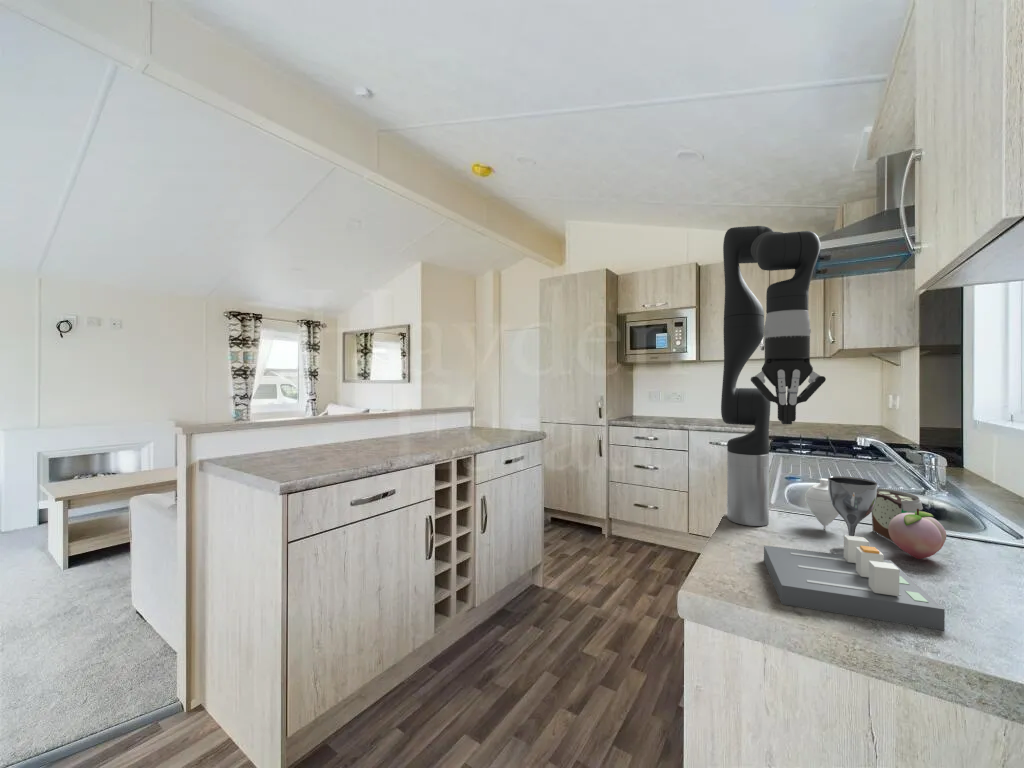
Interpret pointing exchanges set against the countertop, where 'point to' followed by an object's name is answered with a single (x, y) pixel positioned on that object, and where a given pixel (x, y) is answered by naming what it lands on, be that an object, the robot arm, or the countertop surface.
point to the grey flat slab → (846, 589)
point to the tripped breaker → (866, 559)
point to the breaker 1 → (853, 547)
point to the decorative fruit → (917, 533)
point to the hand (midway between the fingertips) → (786, 423)
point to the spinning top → (821, 503)
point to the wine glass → (851, 501)
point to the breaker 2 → (884, 578)
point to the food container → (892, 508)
